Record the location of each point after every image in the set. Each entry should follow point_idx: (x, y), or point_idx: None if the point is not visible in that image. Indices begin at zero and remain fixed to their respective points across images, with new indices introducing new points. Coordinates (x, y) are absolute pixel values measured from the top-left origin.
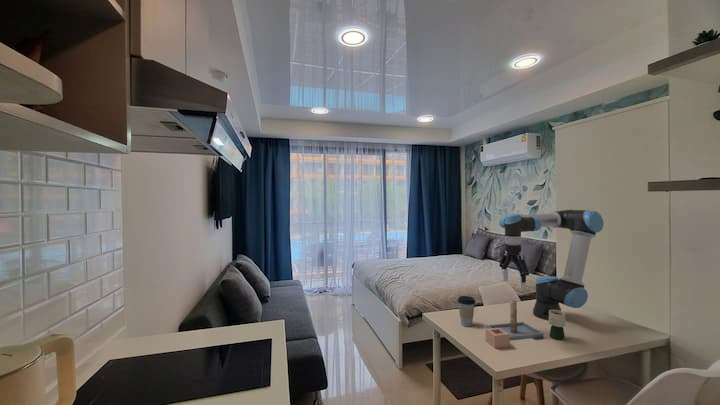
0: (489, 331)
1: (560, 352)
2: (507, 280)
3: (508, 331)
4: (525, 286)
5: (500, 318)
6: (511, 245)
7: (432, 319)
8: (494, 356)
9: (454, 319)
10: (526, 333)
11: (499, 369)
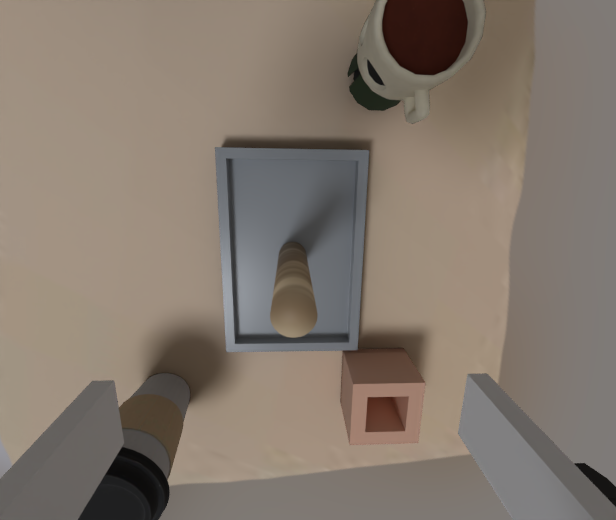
0: (377, 442)
1: (486, 181)
2: (111, 397)
3: None
4: (502, 391)
5: (108, 201)
6: None
7: None
8: (429, 420)
9: None
10: (321, 209)
11: None
